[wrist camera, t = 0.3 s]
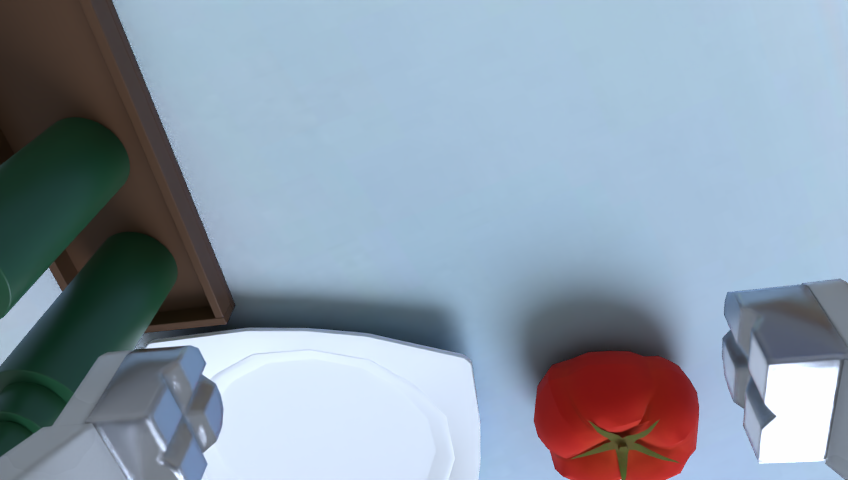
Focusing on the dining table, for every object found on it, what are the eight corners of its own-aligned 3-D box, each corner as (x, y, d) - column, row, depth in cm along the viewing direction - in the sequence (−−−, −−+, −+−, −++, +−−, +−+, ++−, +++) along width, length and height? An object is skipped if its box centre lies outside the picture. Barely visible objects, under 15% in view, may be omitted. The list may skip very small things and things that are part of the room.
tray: (-95, -47, 38) (-124, -40, 36) (78, -84, 36) (57, -77, 34) (102, 320, 51) (88, 339, 49) (235, 305, 49) (226, 324, 47)
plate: (139, 305, 50) (123, 330, 47) (488, 321, 48) (488, 346, 46) (198, 523, 63) (188, 551, 61) (474, 540, 61) (474, 569, 59)
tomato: (683, 427, 52) (706, 502, 47) (534, 434, 54) (540, 507, 48) (691, 326, 47) (719, 396, 42) (527, 336, 49) (532, 405, 43)
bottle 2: (87, 236, 46) (-123, 472, 30) (160, 226, 45) (-15, 464, 29) (119, 299, 49) (-58, 547, 33) (189, 291, 48) (43, 541, 32)
